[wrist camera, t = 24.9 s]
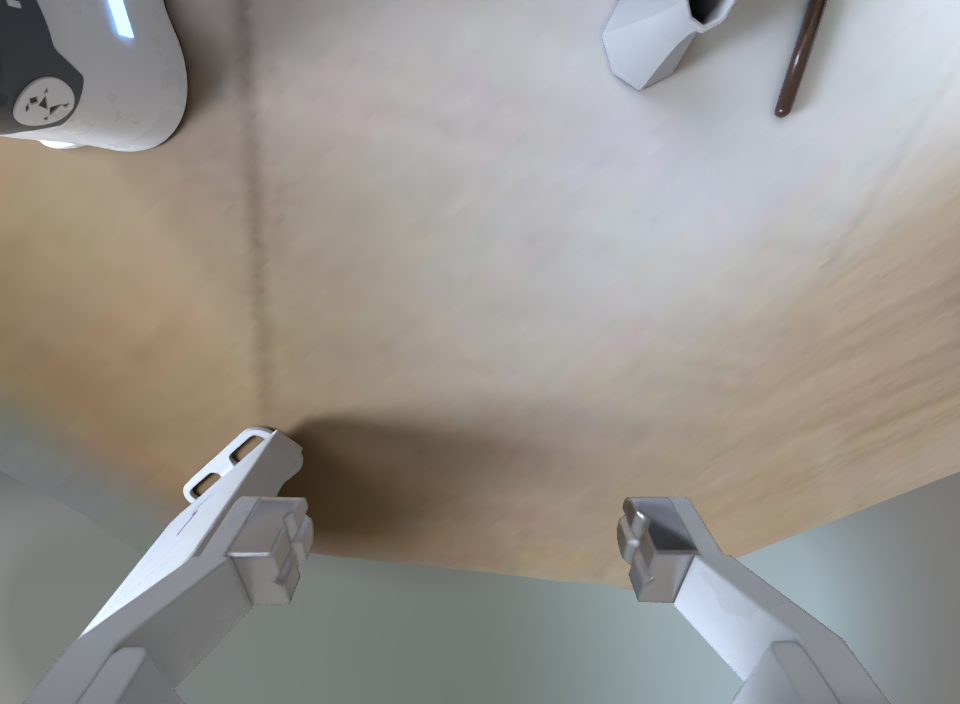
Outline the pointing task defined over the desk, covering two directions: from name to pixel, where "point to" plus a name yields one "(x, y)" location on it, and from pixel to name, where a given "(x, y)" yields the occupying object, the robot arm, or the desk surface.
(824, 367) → the desk surface
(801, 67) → the wooden spoon
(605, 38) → the flask
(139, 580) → the network device
